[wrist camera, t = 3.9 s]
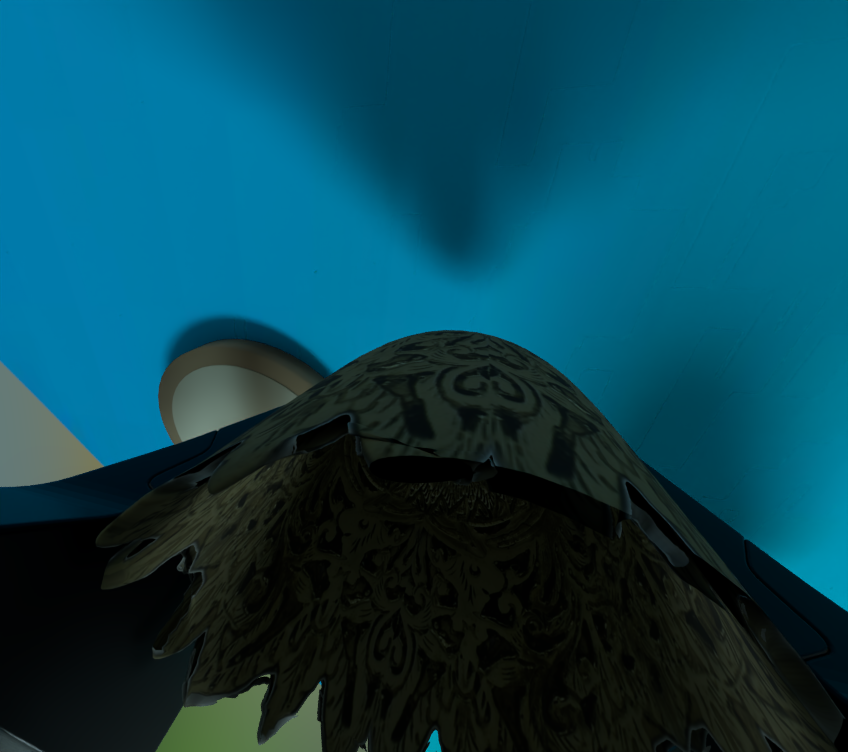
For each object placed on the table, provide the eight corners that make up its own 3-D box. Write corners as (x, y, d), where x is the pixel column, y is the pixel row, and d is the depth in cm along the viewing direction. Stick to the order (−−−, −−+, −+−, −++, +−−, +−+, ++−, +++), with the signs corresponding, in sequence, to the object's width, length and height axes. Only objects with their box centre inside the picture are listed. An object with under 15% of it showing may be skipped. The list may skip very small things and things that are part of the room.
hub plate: (361, 357, 15) (351, 368, 14) (367, 523, 22) (360, 539, 21) (146, 324, 17) (122, 332, 16) (208, 485, 24) (193, 498, 22)
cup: (377, 242, 9) (-100, 338, 2) (637, 312, 8) (1467, 866, 1) (350, 436, 12) (164, 720, 5) (529, 494, 12) (578, 892, 5)
